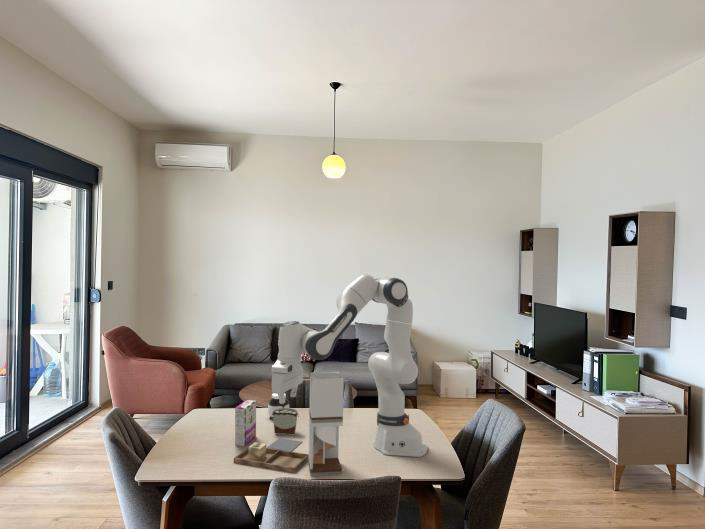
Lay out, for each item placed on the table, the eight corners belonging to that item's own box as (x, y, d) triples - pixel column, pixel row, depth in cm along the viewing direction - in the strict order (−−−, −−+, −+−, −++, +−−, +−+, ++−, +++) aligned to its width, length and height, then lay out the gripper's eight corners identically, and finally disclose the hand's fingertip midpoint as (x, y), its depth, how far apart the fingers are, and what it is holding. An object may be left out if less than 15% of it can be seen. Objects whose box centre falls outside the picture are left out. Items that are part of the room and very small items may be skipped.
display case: (310, 476, 163) (312, 379, 163) (308, 463, 173) (310, 372, 173) (341, 474, 165) (343, 378, 165) (337, 462, 175) (339, 371, 175)
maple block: (266, 456, 178) (266, 443, 178) (259, 461, 173) (260, 448, 173) (254, 454, 179) (255, 441, 179) (248, 459, 174) (248, 446, 174)
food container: (300, 430, 209) (301, 408, 209) (298, 434, 203) (298, 412, 203) (274, 428, 210) (275, 407, 210) (271, 433, 204) (271, 411, 204)
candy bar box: (245, 436, 200) (246, 399, 200) (256, 437, 199) (256, 400, 199) (234, 446, 189) (234, 407, 189) (245, 447, 188) (246, 408, 188)
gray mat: (302, 443, 193) (302, 441, 193) (291, 453, 183) (291, 451, 183) (279, 439, 196) (279, 438, 196) (266, 449, 186) (266, 447, 186)
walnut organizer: (308, 460, 176) (308, 454, 176) (294, 474, 164) (294, 468, 164) (251, 450, 184) (251, 445, 184) (233, 463, 172) (233, 458, 172)
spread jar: (271, 421, 220) (272, 397, 220) (263, 415, 229) (263, 392, 229) (294, 417, 226) (294, 394, 226) (285, 411, 235) (285, 389, 236)
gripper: (293, 358, 184) (292, 392, 184) (269, 368, 165) (267, 406, 164) (307, 359, 182) (306, 394, 182) (284, 369, 163) (283, 408, 162)
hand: (287, 400), depth 173 cm, fingers open, 8 cm apart
